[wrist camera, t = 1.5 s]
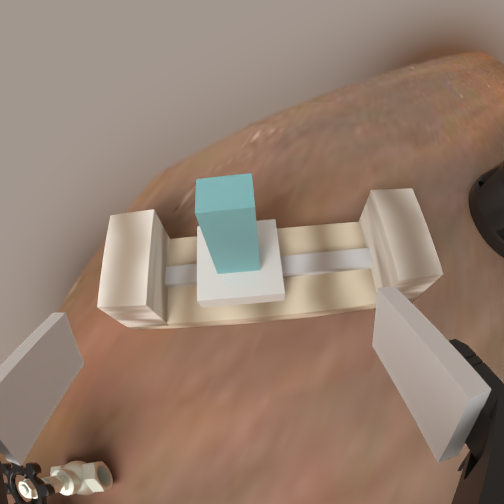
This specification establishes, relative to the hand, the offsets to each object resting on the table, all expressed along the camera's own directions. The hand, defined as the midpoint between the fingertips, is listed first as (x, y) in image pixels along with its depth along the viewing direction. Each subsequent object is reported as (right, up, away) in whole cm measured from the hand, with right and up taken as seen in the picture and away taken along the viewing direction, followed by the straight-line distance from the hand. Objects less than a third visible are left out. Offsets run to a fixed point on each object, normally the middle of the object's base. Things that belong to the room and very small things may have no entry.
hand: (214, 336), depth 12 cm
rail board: (+3, 0, +23) cm, 23 cm away
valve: (-17, -22, +13) cm, 31 cm away
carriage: (0, +1, +21) cm, 21 cm away
